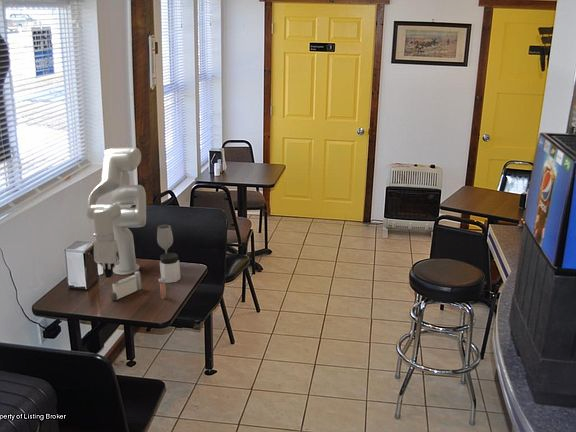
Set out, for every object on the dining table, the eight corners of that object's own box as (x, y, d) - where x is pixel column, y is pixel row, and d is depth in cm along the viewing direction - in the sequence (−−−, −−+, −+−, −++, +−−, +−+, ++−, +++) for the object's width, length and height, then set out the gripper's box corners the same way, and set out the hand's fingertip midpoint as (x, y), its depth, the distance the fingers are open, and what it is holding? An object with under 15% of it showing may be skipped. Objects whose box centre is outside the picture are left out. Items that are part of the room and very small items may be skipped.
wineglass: (156, 267, 314) (152, 226, 307) (169, 262, 319) (166, 223, 312) (165, 271, 309) (161, 230, 302) (178, 266, 314) (175, 226, 307)
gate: (138, 287, 291) (136, 270, 288) (143, 288, 289) (141, 272, 286) (110, 299, 278) (108, 282, 276) (115, 301, 277) (113, 284, 274)
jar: (183, 280, 298) (181, 256, 294) (168, 284, 293) (165, 260, 289) (173, 274, 304) (171, 251, 301) (158, 279, 300) (156, 255, 296)
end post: (158, 298, 279) (156, 279, 276) (163, 295, 282) (162, 277, 279) (163, 300, 277) (161, 281, 275) (169, 297, 280) (167, 279, 277)
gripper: (84, 238, 272) (89, 278, 277) (116, 240, 268) (120, 281, 273) (94, 233, 279) (98, 272, 284) (125, 235, 275) (128, 274, 280)
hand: (109, 276), depth 279 cm, fingers closed
